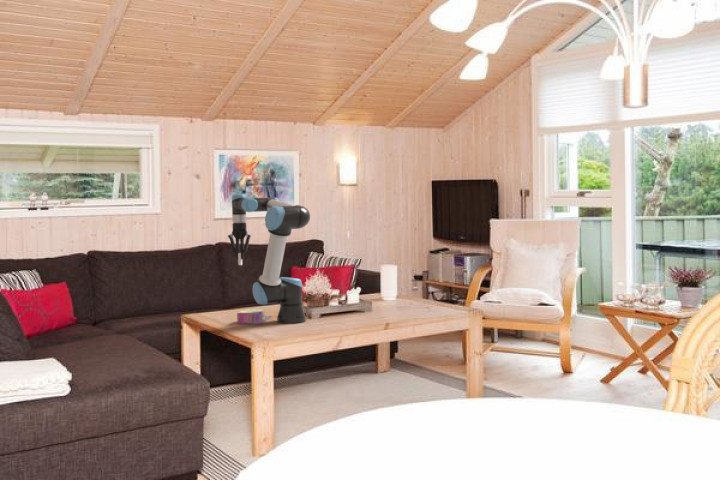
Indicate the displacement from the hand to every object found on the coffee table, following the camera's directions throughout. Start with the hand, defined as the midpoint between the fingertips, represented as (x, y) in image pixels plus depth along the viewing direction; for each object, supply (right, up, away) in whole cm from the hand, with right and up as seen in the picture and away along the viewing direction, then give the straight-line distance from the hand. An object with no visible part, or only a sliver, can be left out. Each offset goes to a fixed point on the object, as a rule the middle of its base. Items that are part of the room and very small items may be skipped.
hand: (240, 264), depth 406 cm
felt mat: (+11, -29, -14) cm, 34 cm away
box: (+3, -27, -19) cm, 33 cm away
